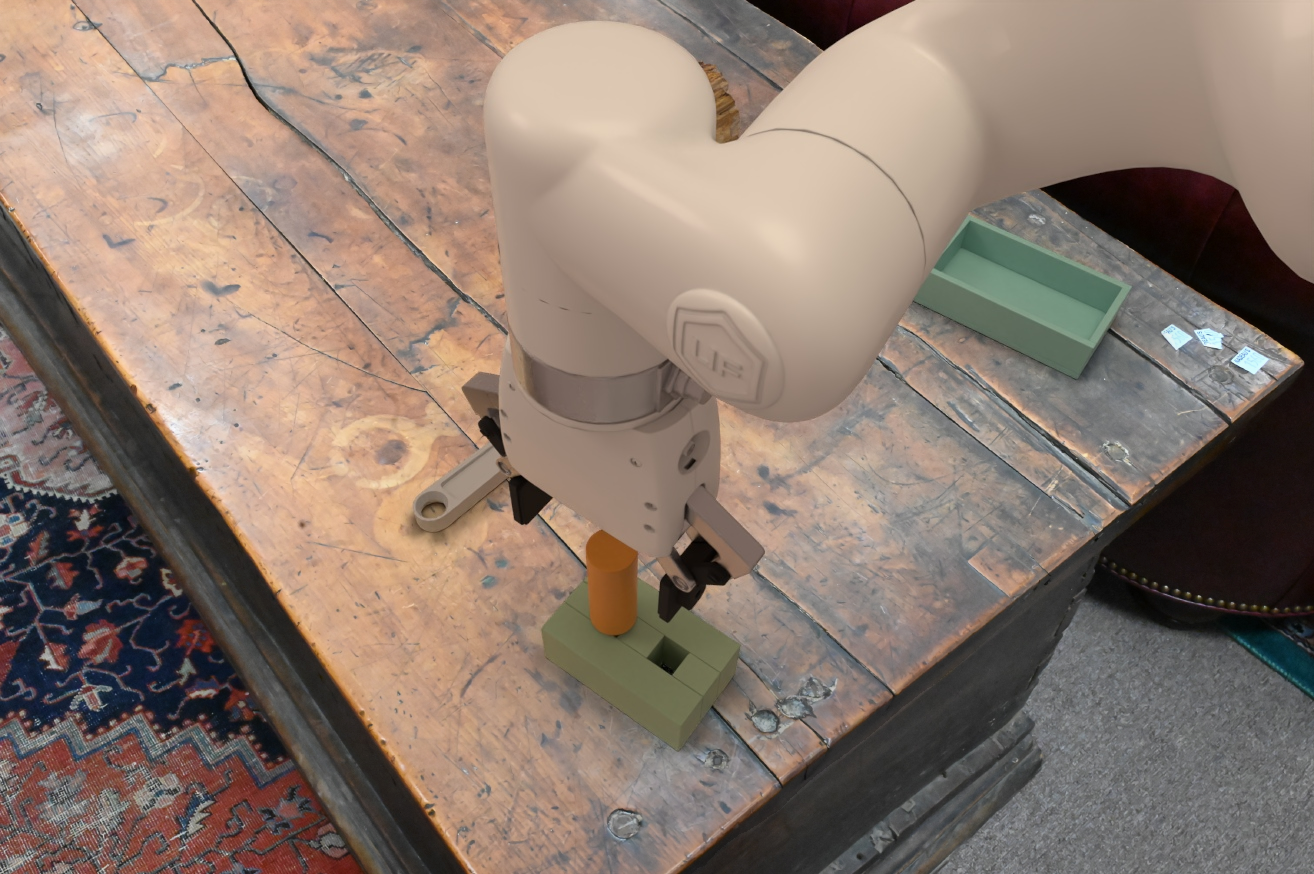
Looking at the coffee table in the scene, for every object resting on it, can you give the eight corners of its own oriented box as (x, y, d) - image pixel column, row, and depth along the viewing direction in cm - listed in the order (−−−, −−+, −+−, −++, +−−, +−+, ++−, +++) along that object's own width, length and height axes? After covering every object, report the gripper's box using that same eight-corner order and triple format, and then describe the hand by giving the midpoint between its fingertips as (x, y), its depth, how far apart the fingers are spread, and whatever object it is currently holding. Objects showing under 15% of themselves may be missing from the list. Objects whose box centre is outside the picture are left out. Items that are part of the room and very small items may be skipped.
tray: (955, 246, 87) (966, 213, 84) (1115, 318, 82) (1132, 286, 79) (911, 300, 83) (921, 268, 80) (1076, 380, 78) (1093, 348, 75)
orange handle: (645, 643, 64) (648, 544, 54) (618, 676, 62) (616, 581, 53) (610, 619, 65) (606, 518, 55) (583, 651, 63) (574, 553, 54)
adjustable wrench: (432, 541, 68) (428, 527, 67) (379, 483, 71) (374, 468, 70) (700, 356, 78) (701, 341, 77) (645, 311, 81) (645, 296, 80)
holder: (605, 586, 66) (604, 555, 63) (735, 672, 63) (741, 644, 60) (544, 656, 63) (540, 627, 60) (678, 752, 60) (681, 726, 56)
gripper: (835, 381, 40) (778, 587, 54) (502, 201, 46) (528, 430, 59) (730, 508, 36) (699, 696, 50) (382, 296, 42) (440, 517, 56)
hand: (606, 551), depth 55 cm, fingers open, 9 cm apart
